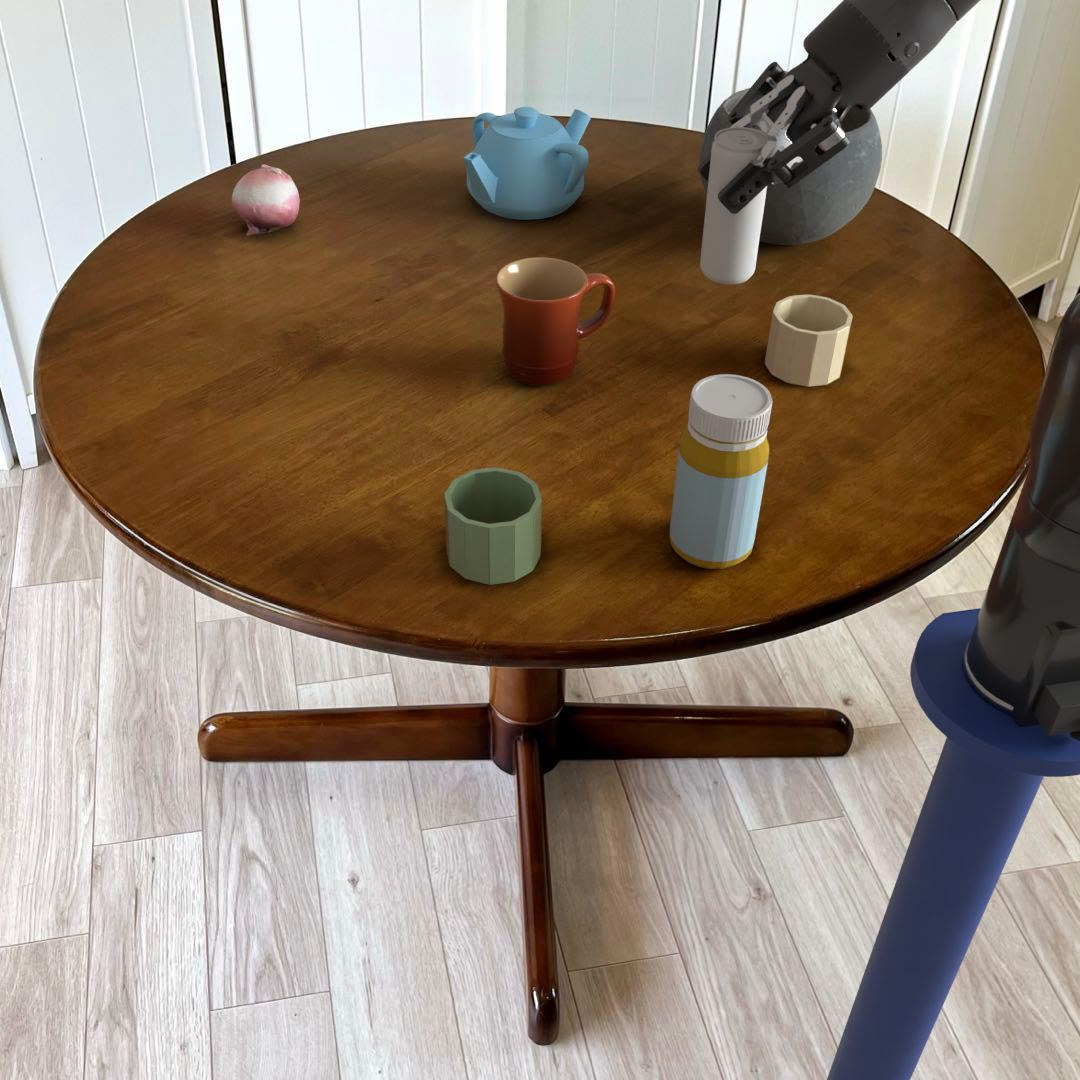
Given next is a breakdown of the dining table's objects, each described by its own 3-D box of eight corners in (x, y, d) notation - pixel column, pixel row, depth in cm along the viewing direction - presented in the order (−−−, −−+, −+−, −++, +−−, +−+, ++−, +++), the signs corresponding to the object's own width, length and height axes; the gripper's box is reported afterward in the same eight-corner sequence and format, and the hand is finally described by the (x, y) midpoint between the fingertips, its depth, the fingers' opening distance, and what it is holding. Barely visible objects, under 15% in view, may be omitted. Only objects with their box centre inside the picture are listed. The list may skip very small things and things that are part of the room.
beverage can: (744, 258, 109) (761, 124, 101) (763, 284, 105) (782, 147, 97) (692, 263, 108) (705, 128, 100) (709, 289, 104) (724, 151, 97)
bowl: (901, 240, 147) (929, 116, 137) (779, 289, 137) (800, 160, 128) (778, 181, 159) (796, 63, 149) (659, 222, 150) (669, 99, 140)
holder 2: (852, 382, 123) (864, 329, 119) (780, 389, 122) (790, 336, 118) (824, 343, 129) (834, 291, 125) (755, 349, 128) (763, 298, 124)
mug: (513, 401, 119) (513, 307, 113) (484, 356, 126) (483, 264, 119) (626, 379, 123) (633, 287, 116) (593, 336, 129) (598, 246, 122)
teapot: (608, 222, 149) (613, 131, 142) (465, 229, 147) (463, 138, 140) (587, 170, 161) (590, 83, 154) (454, 176, 159) (451, 89, 152)
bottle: (767, 563, 102) (794, 412, 92) (690, 581, 100) (710, 429, 90) (729, 512, 107) (751, 364, 97) (655, 528, 105) (670, 379, 95)
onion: (316, 227, 147) (310, 169, 142) (265, 249, 142) (257, 191, 138) (272, 207, 151) (264, 150, 146) (221, 228, 146) (212, 170, 142)
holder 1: (547, 577, 100) (549, 520, 96) (455, 589, 99) (452, 531, 95) (529, 519, 106) (530, 463, 102) (441, 529, 104) (439, 473, 101)
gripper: (818, -28, 99) (662, 129, 105) (891, 28, 88) (713, 200, 94) (868, 37, 103) (715, 184, 109) (944, 98, 92) (770, 258, 98)
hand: (715, 191), depth 101 cm, fingers closed on beverage can, 5 cm apart
